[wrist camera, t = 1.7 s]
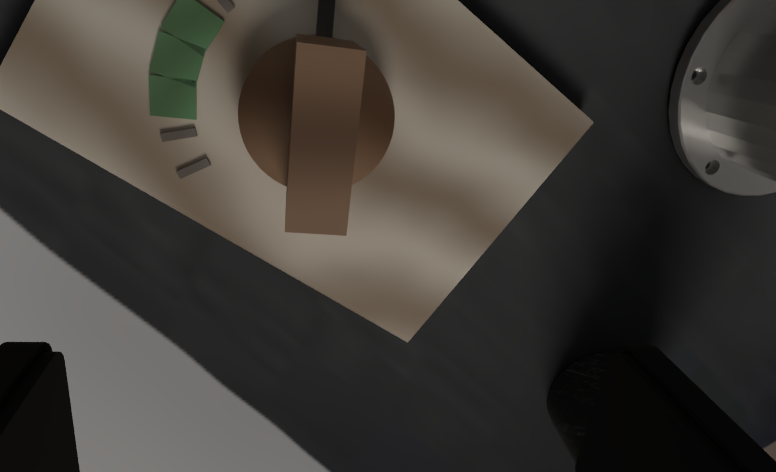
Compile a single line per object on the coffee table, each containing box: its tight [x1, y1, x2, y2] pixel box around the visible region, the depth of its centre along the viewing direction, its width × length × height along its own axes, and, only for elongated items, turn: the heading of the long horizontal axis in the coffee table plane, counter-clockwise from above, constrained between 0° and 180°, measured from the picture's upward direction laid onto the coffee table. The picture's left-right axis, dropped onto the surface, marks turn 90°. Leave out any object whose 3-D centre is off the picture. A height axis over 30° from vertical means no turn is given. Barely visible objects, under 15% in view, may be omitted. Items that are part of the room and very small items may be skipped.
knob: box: [238, 0, 395, 236], centre depth 22 cm, size 10×7×6 cm, turn 173°
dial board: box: [0, 0, 594, 342], centre depth 27 cm, size 16×24×2 cm, turn 52°
